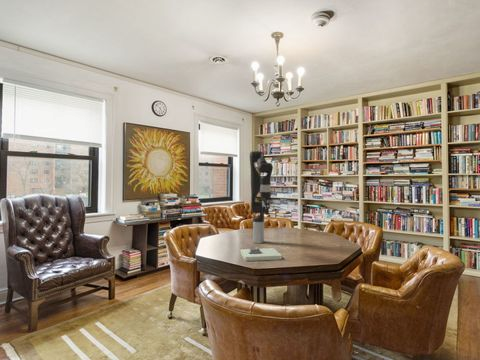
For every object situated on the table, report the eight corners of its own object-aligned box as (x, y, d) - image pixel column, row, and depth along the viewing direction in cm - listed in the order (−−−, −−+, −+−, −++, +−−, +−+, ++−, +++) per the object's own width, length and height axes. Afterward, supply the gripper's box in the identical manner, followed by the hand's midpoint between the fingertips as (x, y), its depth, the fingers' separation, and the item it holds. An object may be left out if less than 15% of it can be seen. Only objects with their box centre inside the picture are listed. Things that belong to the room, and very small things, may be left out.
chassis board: (240, 252, 197) (240, 249, 197) (273, 251, 201) (273, 247, 201) (245, 260, 178) (245, 256, 178) (281, 259, 181) (281, 255, 181)
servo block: (247, 255, 190) (247, 247, 190) (260, 255, 191) (260, 246, 191) (248, 257, 186) (248, 248, 186) (261, 256, 187) (261, 248, 187)
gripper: (258, 190, 206) (258, 212, 207) (262, 191, 192) (262, 215, 192) (268, 190, 207) (268, 212, 208) (273, 191, 193) (273, 215, 193)
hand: (265, 213), depth 200 cm, fingers open, 8 cm apart
